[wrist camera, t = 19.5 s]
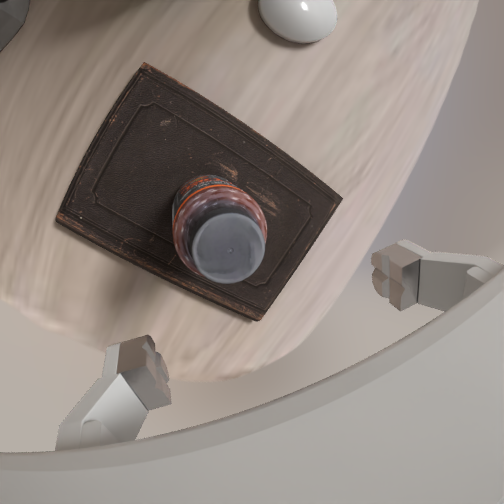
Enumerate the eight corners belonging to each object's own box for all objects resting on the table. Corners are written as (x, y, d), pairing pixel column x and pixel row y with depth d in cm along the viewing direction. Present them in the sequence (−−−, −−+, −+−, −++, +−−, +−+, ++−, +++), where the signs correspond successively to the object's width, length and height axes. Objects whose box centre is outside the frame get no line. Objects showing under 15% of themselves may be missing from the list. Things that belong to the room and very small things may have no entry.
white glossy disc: (319, -18, 21) (325, -22, 20) (339, 42, 25) (345, 40, 24) (249, -19, 20) (252, -24, 19) (269, 46, 23) (273, 43, 22)
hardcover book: (145, 68, 22) (144, 61, 20) (332, 194, 32) (343, 198, 30) (60, 217, 25) (53, 223, 23) (251, 313, 34) (257, 324, 32)
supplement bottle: (226, 162, 25) (266, 176, 15) (248, 224, 28) (297, 274, 17) (161, 189, 25) (155, 221, 14) (187, 249, 27) (201, 316, 17)
